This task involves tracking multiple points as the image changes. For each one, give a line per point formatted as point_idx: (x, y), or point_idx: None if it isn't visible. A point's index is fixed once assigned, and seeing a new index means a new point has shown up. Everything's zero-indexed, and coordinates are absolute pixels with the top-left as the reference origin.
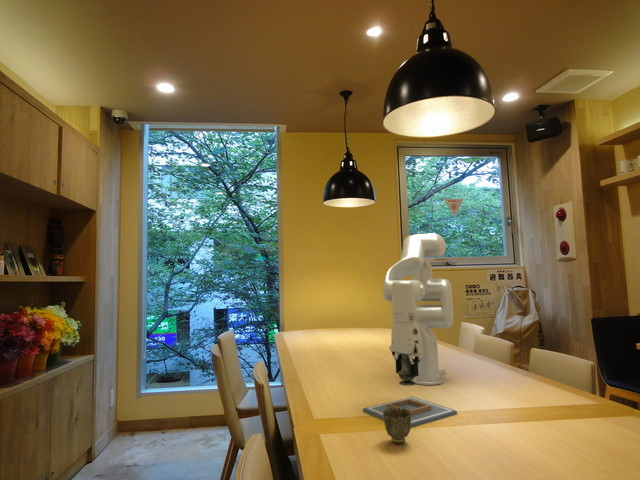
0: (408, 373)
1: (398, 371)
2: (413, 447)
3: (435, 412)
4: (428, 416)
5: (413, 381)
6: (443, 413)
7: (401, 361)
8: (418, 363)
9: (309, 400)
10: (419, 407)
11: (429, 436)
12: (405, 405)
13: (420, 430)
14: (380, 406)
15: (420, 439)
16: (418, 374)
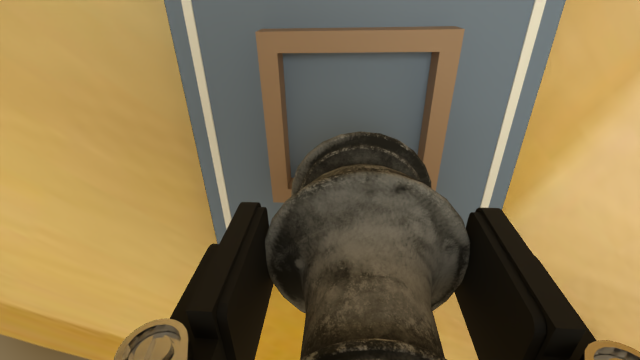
0: (433, 300)
1: (288, 297)
2: (589, 319)
3: (496, 36)
4: (504, 123)
5: (385, 155)
6: (546, 7)
7: (234, 338)
8: (618, 349)
9: (19, 303)
10: (431, 116)
11: (595, 238)
12: (289, 87)
13: (534, 223)
14: (234, 192)
15: (578, 273)
16: (502, 212)
